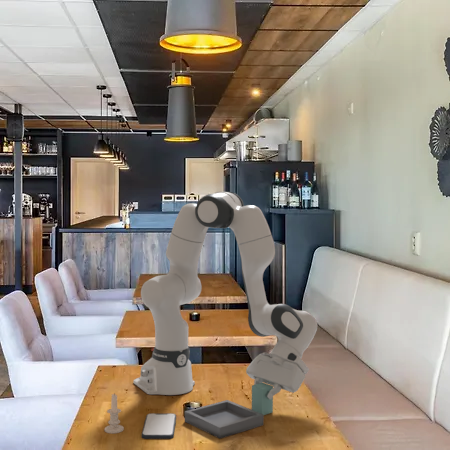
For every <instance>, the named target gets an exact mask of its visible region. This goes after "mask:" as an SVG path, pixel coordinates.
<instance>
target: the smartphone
mask: <svg viewBox="0 0 450 450" xmlns="http://www.w3.org/2000/svg"><path fill="white" fill-rule="evenodd" d="M176 425H177V415H176V413H173V412H172V413H170V412H169V413H166V412H165V413H162V412H161V413H148V414H146V416H145V420H144V424H143V427H142V432H141V439H143V440H169V439H173V438H174V436H175V431H176Z"/></svg>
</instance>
